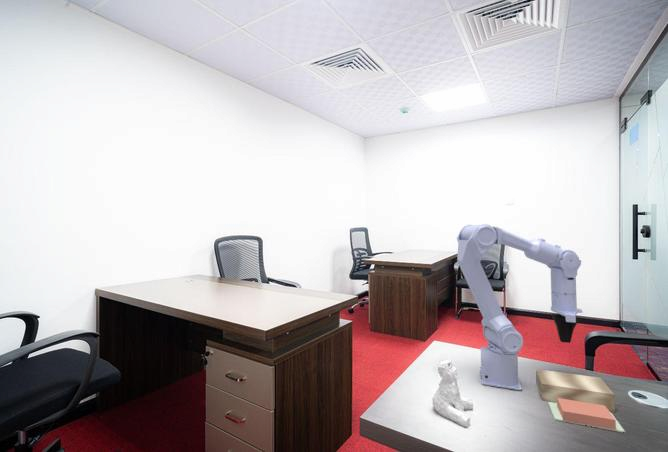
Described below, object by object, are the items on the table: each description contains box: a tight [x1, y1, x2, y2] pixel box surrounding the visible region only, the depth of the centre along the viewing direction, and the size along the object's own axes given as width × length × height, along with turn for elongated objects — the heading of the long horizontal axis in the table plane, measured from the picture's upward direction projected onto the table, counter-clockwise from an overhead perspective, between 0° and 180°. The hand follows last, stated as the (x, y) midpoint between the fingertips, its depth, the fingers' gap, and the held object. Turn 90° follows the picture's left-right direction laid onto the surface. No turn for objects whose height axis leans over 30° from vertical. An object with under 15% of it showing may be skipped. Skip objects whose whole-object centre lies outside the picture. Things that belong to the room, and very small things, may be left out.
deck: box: [535, 368, 616, 413], centre depth 80 cm, size 14×9×4 cm, turn 66°
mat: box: [547, 401, 626, 434], centre depth 72 cm, size 12×8×1 cm, turn 66°
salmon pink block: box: [557, 398, 617, 430], centre depth 71 cm, size 9×6×2 cm, turn 66°
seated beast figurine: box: [431, 359, 474, 428], centre depth 74 cm, size 10×9×12 cm
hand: (565, 341), depth 89 cm, fingers closed
